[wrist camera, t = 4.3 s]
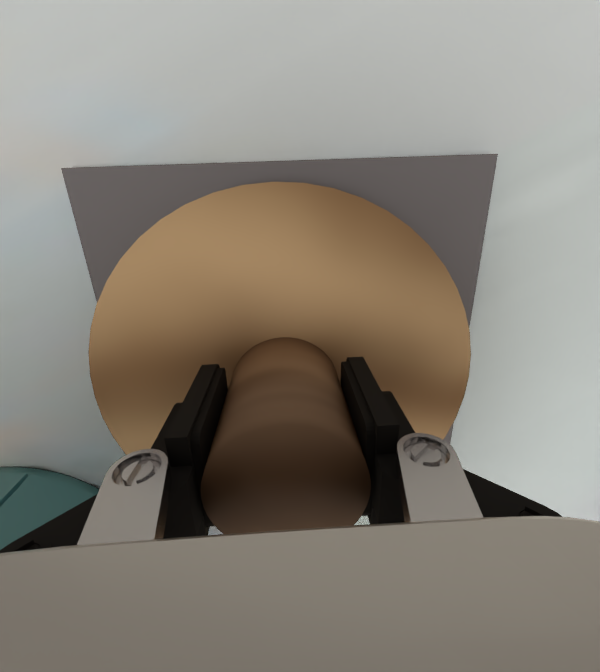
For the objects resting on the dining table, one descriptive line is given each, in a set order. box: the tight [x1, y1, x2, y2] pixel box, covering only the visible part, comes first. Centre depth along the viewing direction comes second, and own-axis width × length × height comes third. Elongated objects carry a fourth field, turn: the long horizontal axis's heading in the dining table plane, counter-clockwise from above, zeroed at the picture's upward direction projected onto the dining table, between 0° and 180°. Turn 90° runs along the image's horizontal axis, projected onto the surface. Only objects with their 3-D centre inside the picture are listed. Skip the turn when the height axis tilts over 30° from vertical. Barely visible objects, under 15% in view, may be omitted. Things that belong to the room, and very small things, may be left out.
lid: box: [89, 182, 471, 534], centre depth 11 cm, size 14×14×6 cm
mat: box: [61, 154, 498, 444], centre depth 15 cm, size 15×15×1 cm
